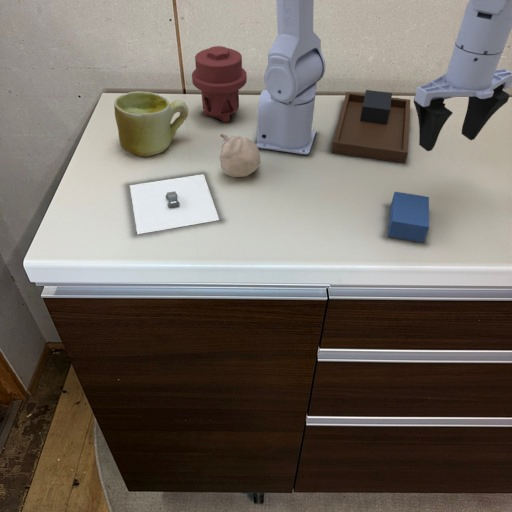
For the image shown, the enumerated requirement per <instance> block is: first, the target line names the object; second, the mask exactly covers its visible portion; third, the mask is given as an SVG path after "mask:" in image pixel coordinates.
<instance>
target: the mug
mask: <svg viewBox="0 0 512 512" xmlns="http://www.w3.org/2000/svg"><path fill="white" fill-rule="evenodd" d="M113 107H114V119H115V122H116V126H117V131H118V139H119V140H118V141H119V144H120V147H121V148H122V149H123V150H124V151H125V152H128V153H129V154H132V155H134V156H137V157H140V158H141V157H149V156H154V155H158V154H161V153H164V151H166V150H167V149H168V148H169V146H170V145H171V142H172V141H173V139H174V137H175V135H176V133H177V132H178V129H179V128H180V127H181V126H182V125H183V123H184V122H185V121H186V120H187V118H188V116H189V110H190V109H189V107H188V105H187V103H186V102H185V101H182V100H174V101H171V102H169V100H168V98H166V97H164V95H161V94H159V93H155V92H151V91H139V90H138V91H129V92H127V93H126V94H122V95H119V96H117V97H116V98H115V100H114V106H113ZM176 113H177V114H178V113H179V116H177V117H176V118H175V119H174V121H173V122H172V119H173V117H174V116H175V114H176Z"/></svg>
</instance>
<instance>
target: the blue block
mask: <svg viewBox="0 0 512 512" xmlns="http://www.w3.org/2000/svg"><path fill="white" fill-rule="evenodd" d="M429 229H430V197H429V196H427V195H426V196H425V195H419V194H412V193H406V192H400V191H394V192H393V196H392V199H391V203H390V207H389V217H388V228H387V237H388V238H393V239H400V240H405V241H410V242H416V243H422V244H423V243H425V241H426V237H427V234H428V232H429Z"/></svg>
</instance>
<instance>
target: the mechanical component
mask: <svg viewBox="0 0 512 512" xmlns="http://www.w3.org/2000/svg"><path fill="white" fill-rule="evenodd" d="M194 61H195V62H194V63H195V69H194V70H193V71H192V73H191V80H192V81H191V82H192V84H193V86H194V87H195V88H196V89H198V90H199V91H201V105H202V110H203V115H205V116H207V117H212V118H216V119H217V120H220V121H221V122H223V123H228V122H230V120H231V117H230V115H233V114H234V113H236V112H237V111H238V110H239V108H240V95H239V93H240V90H241V89H242V88H243V87H245V86H246V84H247V80H248V79H247V77H248V76H247V75H248V74H247V71H246V69H244V68H243V57H242V54H241V52H239V51H238V50H235V49H233V48H229V47H226V46H222V45H215V46H211V47H209V48H205V49H203V50H200V51H199V52H196V54H195V56H194Z"/></svg>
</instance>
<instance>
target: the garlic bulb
mask: <svg viewBox="0 0 512 512" xmlns="http://www.w3.org/2000/svg"><path fill="white" fill-rule="evenodd" d="M219 137H221V138H222V139H223V140H222V142H223V143H222V145H221V148H220V153H219V161H220V168H221V170H222V171H223V172H224V173H225V174H226V175H227V176H229V177H232V178H239V177H243V178H245V177H248V176H250V175H251V174H252V173H254V172H256V171H257V169H258V168H259V166H260V164H261V152H260V148H258V147H257V146H256V144H257V143H255V142H254V140H252V139H250V138H247V137H242V136H239V135H236V136H231V137H228V134H227V135H226V134H223V133H221V134H220V135H219Z"/></svg>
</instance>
